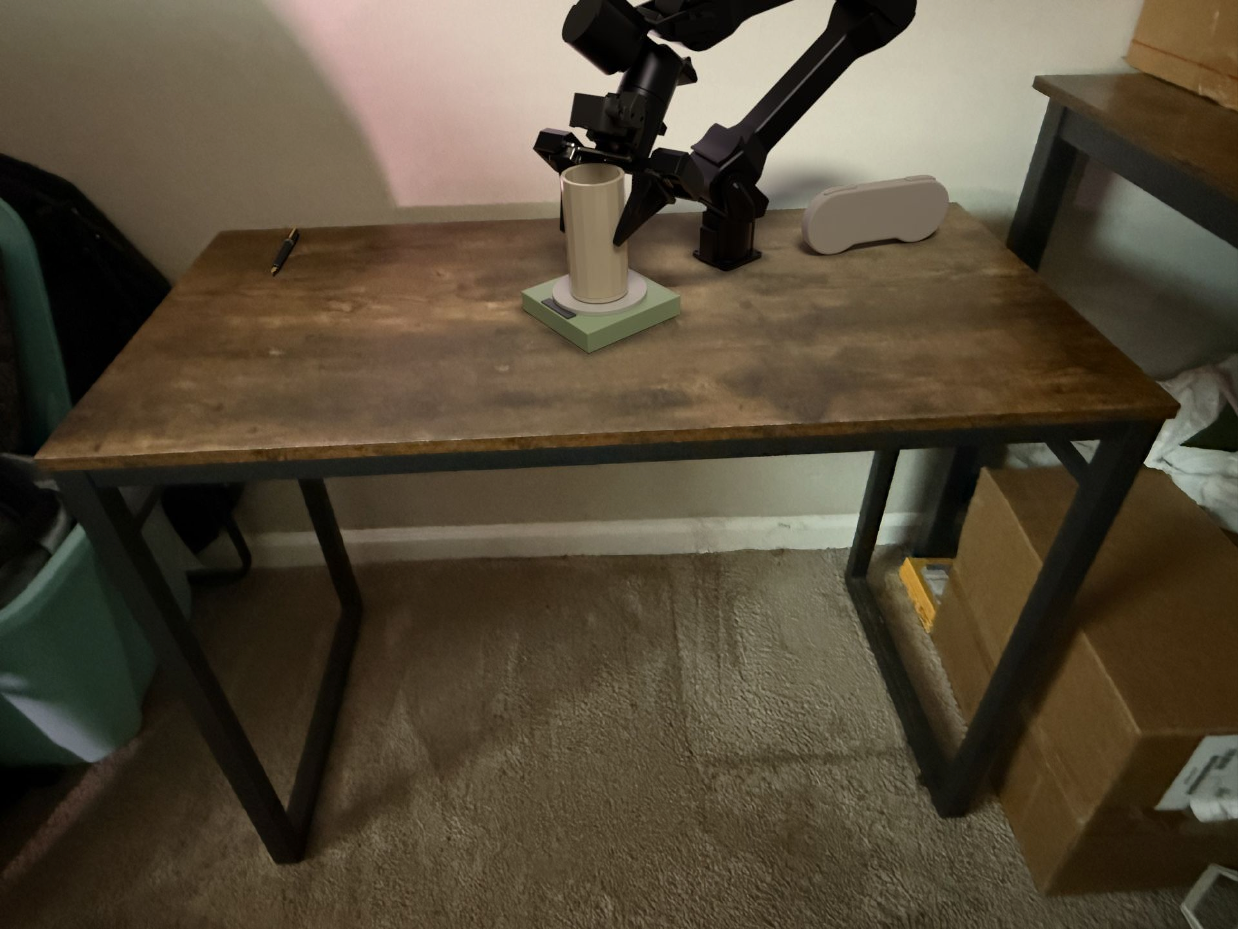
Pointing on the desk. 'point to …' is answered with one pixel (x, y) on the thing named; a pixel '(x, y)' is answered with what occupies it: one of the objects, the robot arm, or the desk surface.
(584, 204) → the cup
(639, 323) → the scale
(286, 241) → the fountain pen
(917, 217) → the game controller
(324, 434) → the desk surface
